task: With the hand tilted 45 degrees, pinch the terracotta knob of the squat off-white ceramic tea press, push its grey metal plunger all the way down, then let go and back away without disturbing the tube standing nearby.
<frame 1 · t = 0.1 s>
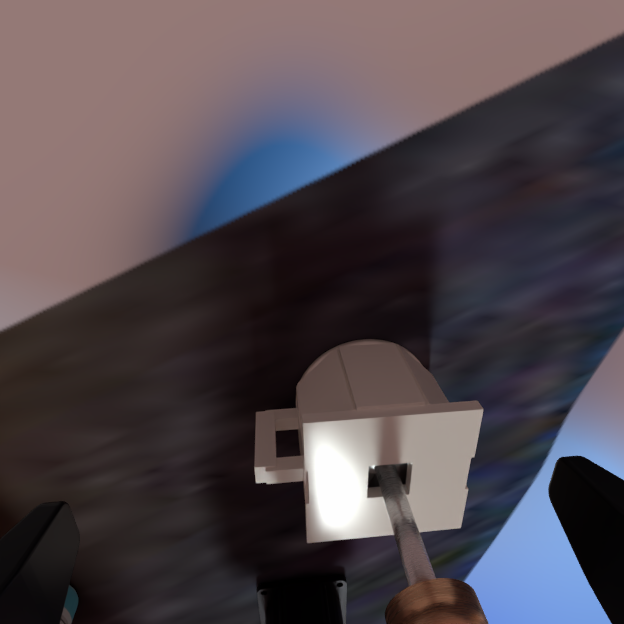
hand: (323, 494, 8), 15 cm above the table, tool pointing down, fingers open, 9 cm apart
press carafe: (362, 397, 26), on the table
plunger: (411, 548, 17), point 10 cm above the table, slide at 0.0 cm
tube: (43, 593, 31), on the table
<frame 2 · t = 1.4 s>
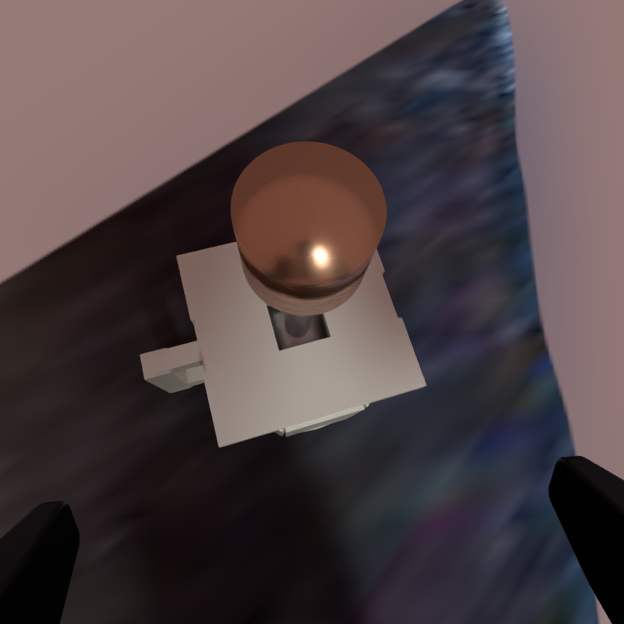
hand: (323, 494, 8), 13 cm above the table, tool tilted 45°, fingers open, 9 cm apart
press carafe: (294, 353, 23), on the table
plunger: (301, 287, 13), point 10 cm above the table, slide at 0.0 cm
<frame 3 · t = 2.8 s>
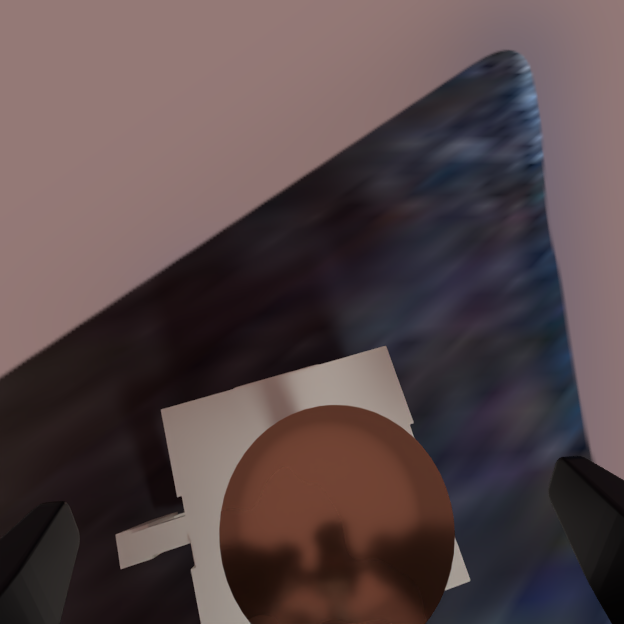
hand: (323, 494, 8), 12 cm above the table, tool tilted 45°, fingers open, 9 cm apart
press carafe: (302, 483, 19), on the table
plunger: (316, 499, 10), point 10 cm above the table, slide at 0.0 cm
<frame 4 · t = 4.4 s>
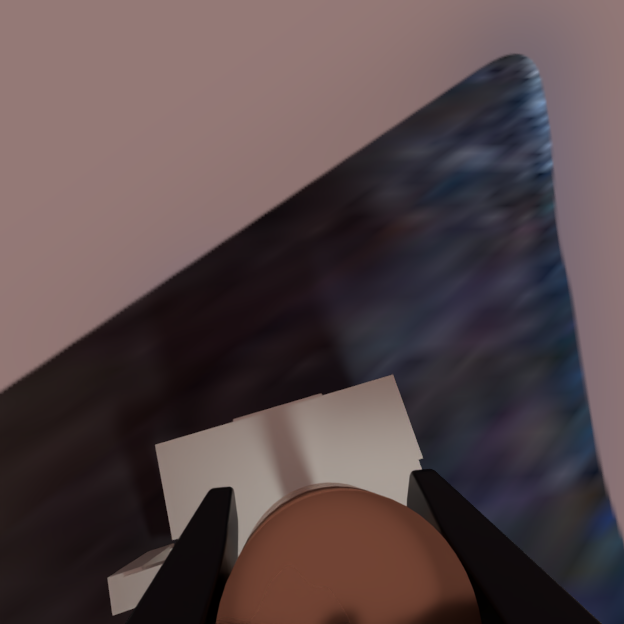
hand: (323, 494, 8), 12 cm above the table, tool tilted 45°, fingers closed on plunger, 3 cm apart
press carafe: (304, 511, 19), on the table
plunger: (321, 556, 10), point 10 cm above the table, slide at 0.0 cm, touching gripper
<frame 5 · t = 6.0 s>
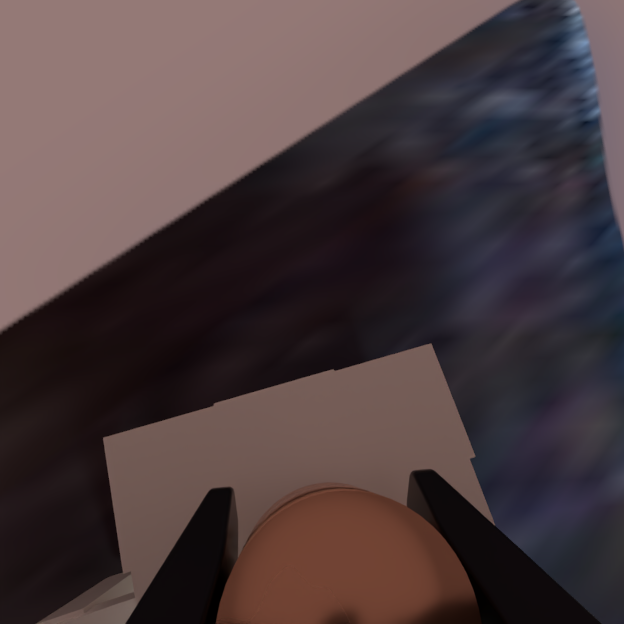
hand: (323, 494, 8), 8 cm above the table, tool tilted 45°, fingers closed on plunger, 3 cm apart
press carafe: (308, 523, 15), on the table
plunger: (321, 556, 10), point 6 cm above the table, slide at -4.0 cm, touching gripper
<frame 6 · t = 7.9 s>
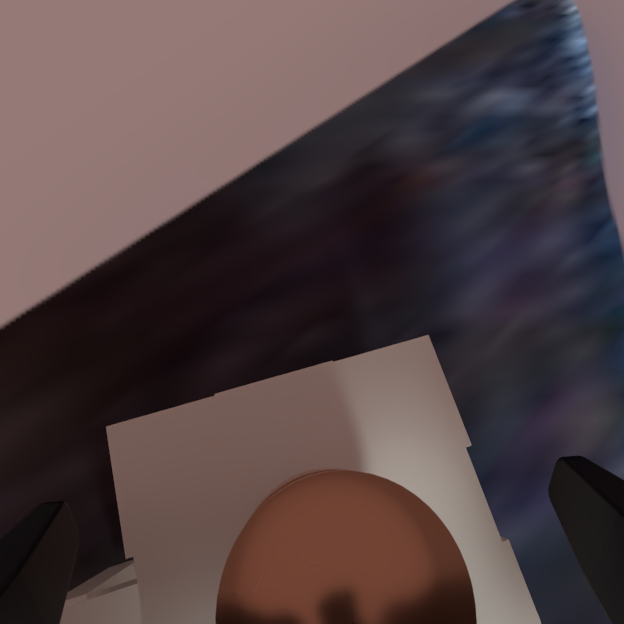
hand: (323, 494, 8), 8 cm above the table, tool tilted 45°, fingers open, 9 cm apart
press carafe: (308, 515, 15), on the table
plunger: (320, 543, 10), point 6 cm above the table, slide at -4.0 cm
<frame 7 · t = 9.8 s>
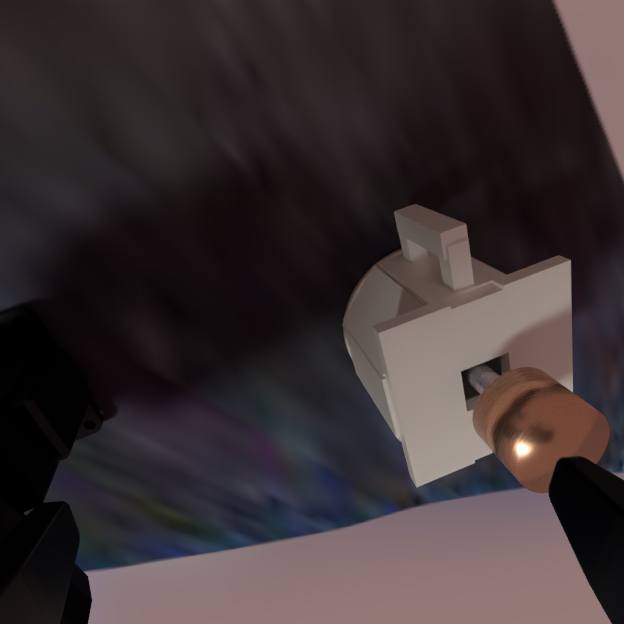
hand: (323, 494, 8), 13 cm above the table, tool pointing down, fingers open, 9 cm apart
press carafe: (416, 318, 23), on the table
plunger: (477, 373, 18), point 6 cm above the table, slide at -4.0 cm
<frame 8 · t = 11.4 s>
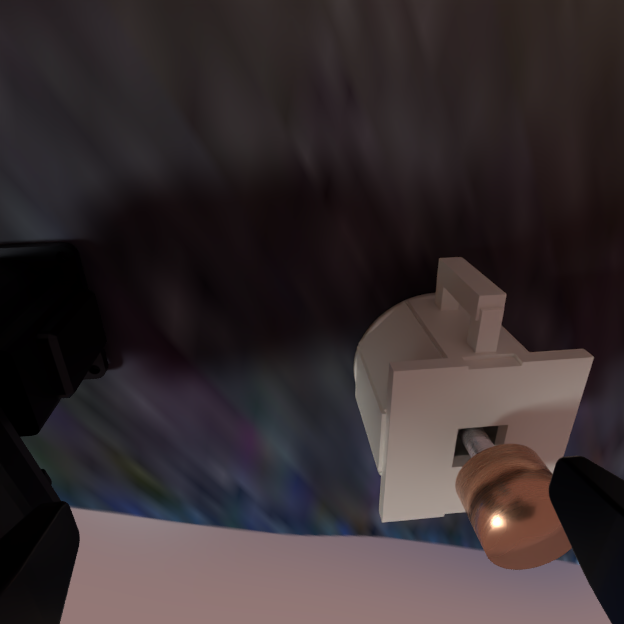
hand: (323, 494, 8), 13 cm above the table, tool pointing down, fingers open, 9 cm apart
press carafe: (427, 361, 23), on the table
plunger: (472, 434, 18), point 6 cm above the table, slide at -4.0 cm
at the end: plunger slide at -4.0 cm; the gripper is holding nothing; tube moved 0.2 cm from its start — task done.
